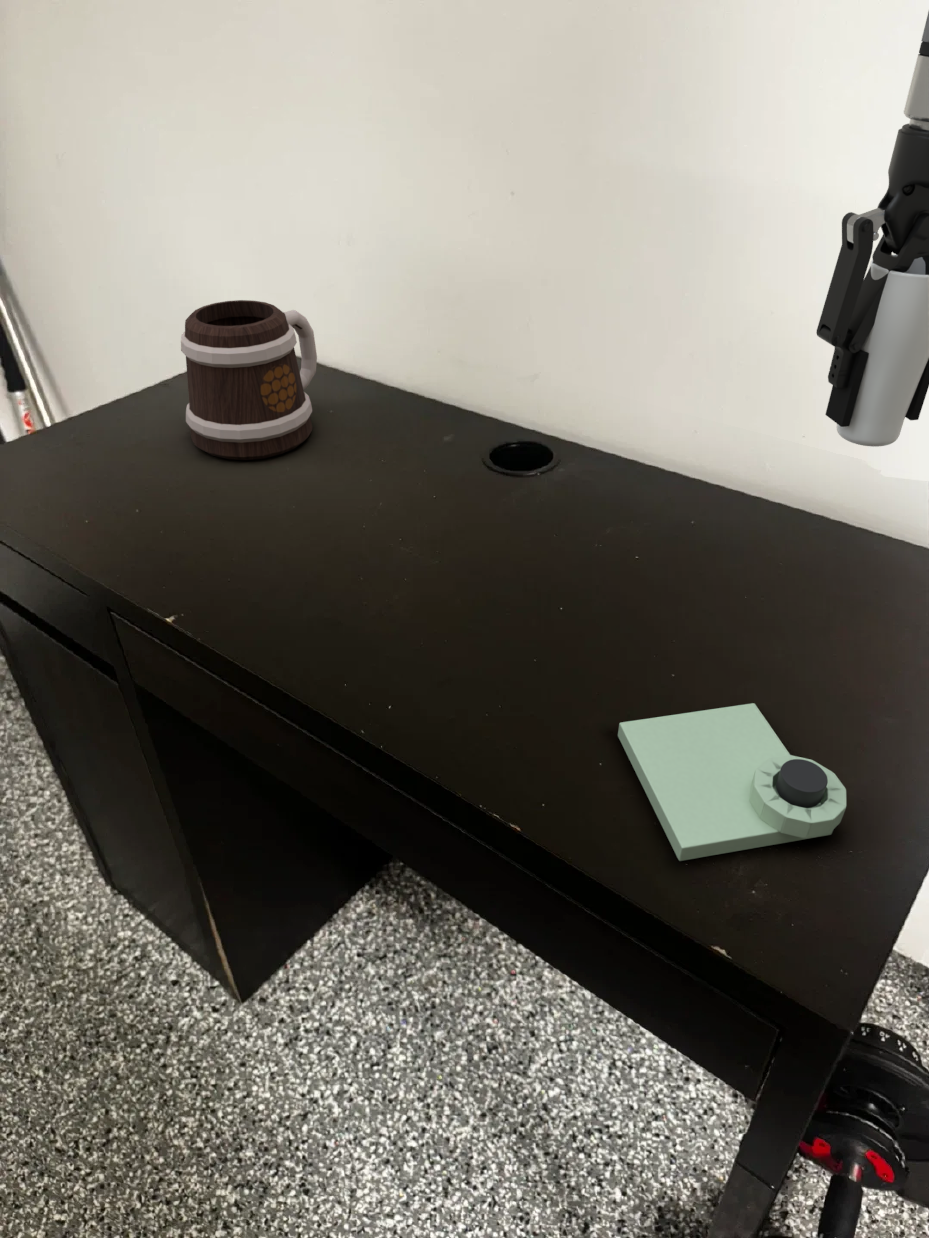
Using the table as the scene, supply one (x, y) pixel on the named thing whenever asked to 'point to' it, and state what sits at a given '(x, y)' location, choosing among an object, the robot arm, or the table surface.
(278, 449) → the mug
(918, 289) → the drinking glass
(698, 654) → the table surface
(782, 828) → the scale
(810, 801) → the button
